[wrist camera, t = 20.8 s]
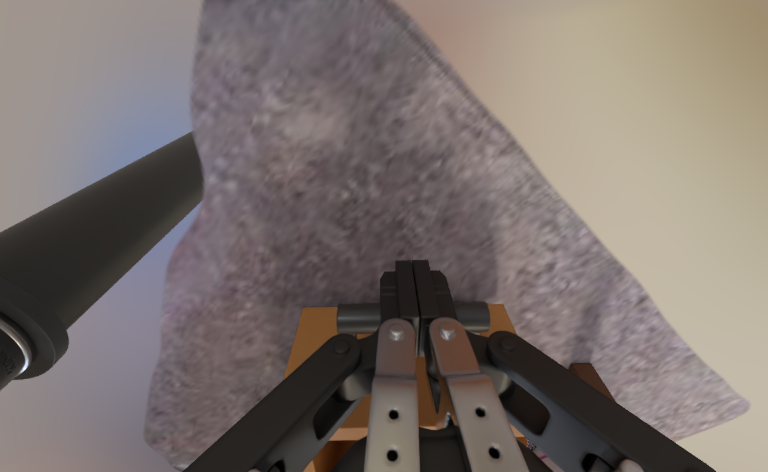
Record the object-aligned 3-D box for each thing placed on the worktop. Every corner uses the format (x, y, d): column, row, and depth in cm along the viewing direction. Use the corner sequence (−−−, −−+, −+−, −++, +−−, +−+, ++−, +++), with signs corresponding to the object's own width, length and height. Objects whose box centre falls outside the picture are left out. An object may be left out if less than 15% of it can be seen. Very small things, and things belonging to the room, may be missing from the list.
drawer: (291, 249, 19) (244, 365, 12) (518, 245, 19) (593, 359, 12) (325, 422, 29) (310, 536, 23) (472, 419, 29) (499, 531, 23)
